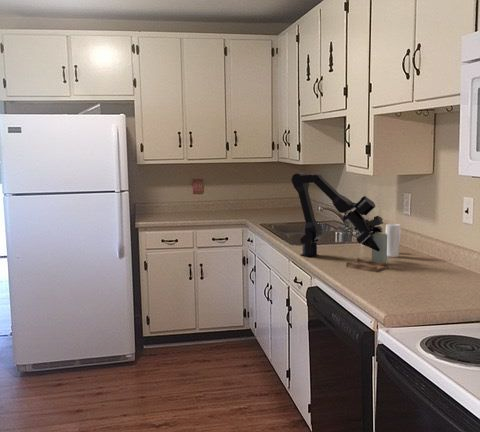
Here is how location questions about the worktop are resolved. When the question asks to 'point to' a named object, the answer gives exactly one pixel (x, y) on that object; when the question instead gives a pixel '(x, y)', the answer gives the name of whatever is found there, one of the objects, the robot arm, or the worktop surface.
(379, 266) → the walnut trough
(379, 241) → the block
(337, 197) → the robot arm
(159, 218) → the worktop surface
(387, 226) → the white cylinder
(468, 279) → the worktop surface
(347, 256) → the worktop surface
